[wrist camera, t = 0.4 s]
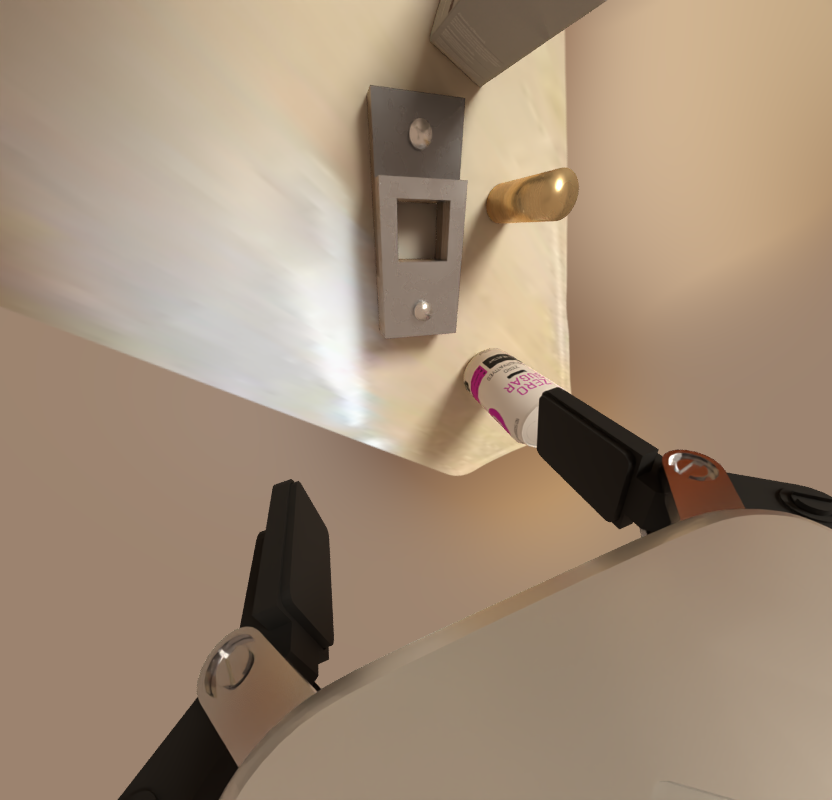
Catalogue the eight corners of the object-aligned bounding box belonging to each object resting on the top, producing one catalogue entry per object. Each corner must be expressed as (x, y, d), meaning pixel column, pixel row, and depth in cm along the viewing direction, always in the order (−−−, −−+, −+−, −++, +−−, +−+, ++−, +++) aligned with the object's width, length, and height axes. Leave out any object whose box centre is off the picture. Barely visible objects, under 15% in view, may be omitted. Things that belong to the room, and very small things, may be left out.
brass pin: (488, 182, 34) (546, 166, 25) (519, 184, 35) (583, 169, 26) (484, 223, 36) (536, 220, 27) (513, 223, 37) (571, 221, 28)
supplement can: (481, 403, 49) (537, 461, 37) (451, 375, 45) (504, 430, 32) (517, 368, 48) (588, 416, 35) (490, 335, 43) (561, 377, 31)
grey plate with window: (366, 94, 27) (375, 71, 23) (456, 105, 29) (477, 87, 26) (379, 329, 38) (386, 340, 34) (444, 324, 40) (457, 334, 36)
